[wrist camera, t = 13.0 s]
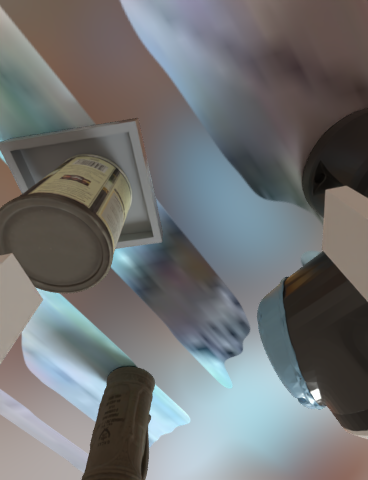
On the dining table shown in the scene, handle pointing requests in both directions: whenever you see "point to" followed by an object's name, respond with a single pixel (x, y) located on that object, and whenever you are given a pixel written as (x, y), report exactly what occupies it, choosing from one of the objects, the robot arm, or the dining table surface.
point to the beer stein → (122, 427)
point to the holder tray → (102, 144)
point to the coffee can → (68, 224)
